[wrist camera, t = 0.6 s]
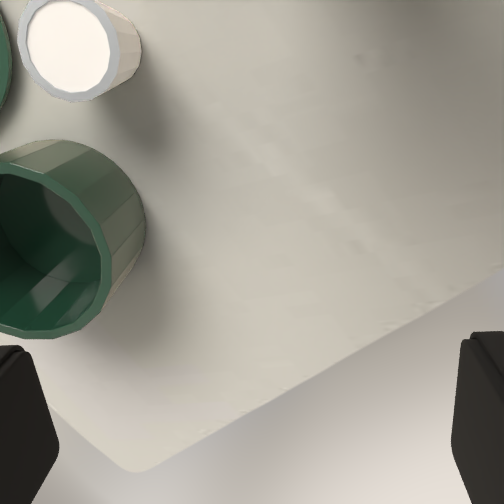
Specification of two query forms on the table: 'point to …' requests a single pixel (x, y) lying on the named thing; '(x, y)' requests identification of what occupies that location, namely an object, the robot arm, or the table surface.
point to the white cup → (77, 47)
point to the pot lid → (4, 63)
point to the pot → (63, 236)
